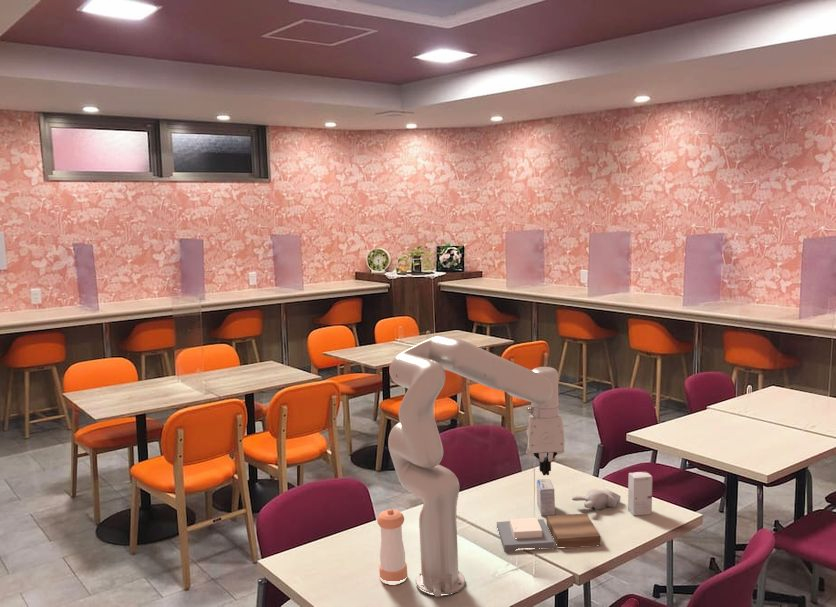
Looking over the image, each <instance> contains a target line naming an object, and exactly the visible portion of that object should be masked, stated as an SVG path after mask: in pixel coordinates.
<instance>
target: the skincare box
mask: <svg viewBox="0 0 836 607" xmlns="http://www.w3.org/2000/svg"><path fill="white" fill-rule="evenodd" d="M627 484H628V486H627V489H628V492H627V509H628V511H629V513H630V514H631V515H632V516H644V515H646V516H647V515H652V512H653V511H652V510H653V509H652V508H653V507H652V506H653V476H652V475H651V474H650V473H649V472H647V471H636V472H629V473H628V483H627Z"/></svg>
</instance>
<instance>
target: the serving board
mask: <svg viewBox="0 0 836 607" xmlns="http://www.w3.org/2000/svg"><path fill="white" fill-rule="evenodd" d="M546 526H547V528H549V529H548V530H550V531H549V532H551V533H550V534H552V535H551V536H553V537H552V538H554V539H553V540H555V541H554V543H555V542H556V543H555V545H556V544H557V546H556V547H575V548H582V547H581V546H591V547H601V535H600V533H599V531H598V529H597V528H596V526H595V525H594V523H593V522H592V519H590V516H589V514H587V513H571V514H557V515H556V514H555V515H548V516H546ZM597 545H599V546H597Z"/></svg>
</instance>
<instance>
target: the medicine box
mask: <svg viewBox="0 0 836 607" xmlns="http://www.w3.org/2000/svg"><path fill="white" fill-rule="evenodd" d="M555 496H556V495H555V488H554V485H553V482H552V480H551V479H550V478H549V479H544V478H543V479H537V480H536V500H537V501H536V502H537V507H538V510H539V512H540V515H541V517H542V516H543V517H544V516H545V517H547V516H553V515H556V504H555V503H556V502H555V501H556V499H555Z"/></svg>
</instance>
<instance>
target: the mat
mask: <svg viewBox="0 0 836 607" xmlns="http://www.w3.org/2000/svg"><path fill="white" fill-rule="evenodd" d="M537 520H538V522H539V524H540V527H541V529H542V537H535V538H517V539H514V537H513V534H512V531H511V528H510V523H509V520H507V521H497V522H496V529H497V528H498V530H497V532H498V531H499V534H498V536H499V535H500V537H499V538H500V539H501V540H500V542H501V545H502V548H503V552H504V553H507V552H508V553H510V552H516V551H515V550H516V549H518V548H535V549H539V548H540V549H541V548H554V549H555V541H554V539H553V537H552V535H551V533H550V531H549V529H548V527H547V523H546V522H545V520H544V519H537Z"/></svg>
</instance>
